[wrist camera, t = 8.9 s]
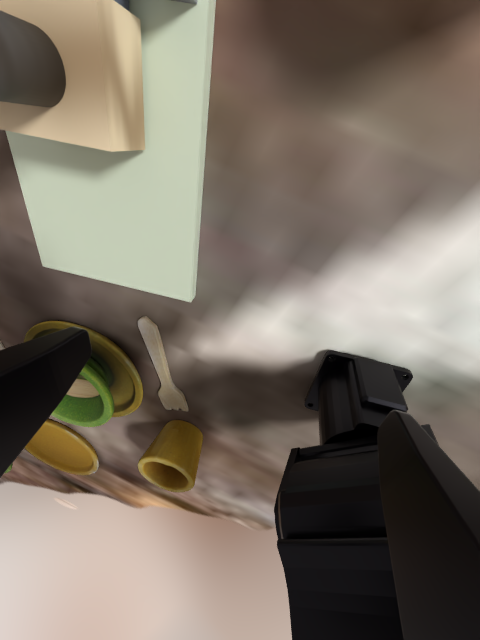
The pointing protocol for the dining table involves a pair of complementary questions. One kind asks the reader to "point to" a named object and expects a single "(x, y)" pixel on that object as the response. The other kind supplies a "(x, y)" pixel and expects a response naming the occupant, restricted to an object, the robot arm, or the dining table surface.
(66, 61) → the sled
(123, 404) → the tableware set
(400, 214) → the dining table surface
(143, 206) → the pitch
